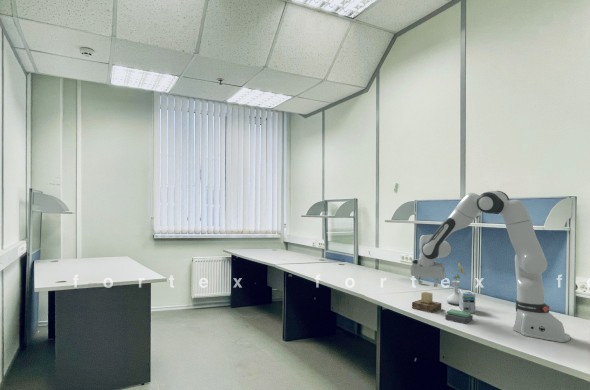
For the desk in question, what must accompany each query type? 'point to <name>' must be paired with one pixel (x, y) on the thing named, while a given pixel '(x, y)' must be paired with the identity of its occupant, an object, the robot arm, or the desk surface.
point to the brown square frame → (426, 306)
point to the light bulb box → (467, 301)
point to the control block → (458, 318)
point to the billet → (426, 298)
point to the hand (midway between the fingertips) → (427, 285)
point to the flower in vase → (455, 288)
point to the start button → (459, 313)
